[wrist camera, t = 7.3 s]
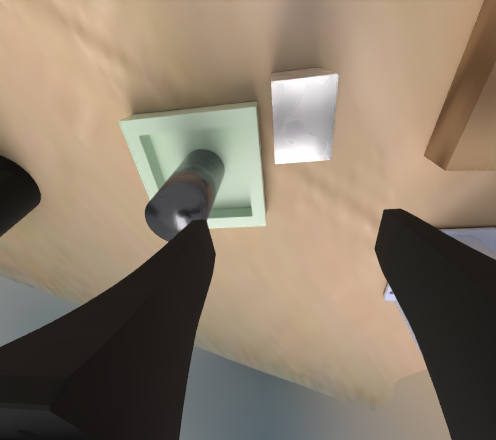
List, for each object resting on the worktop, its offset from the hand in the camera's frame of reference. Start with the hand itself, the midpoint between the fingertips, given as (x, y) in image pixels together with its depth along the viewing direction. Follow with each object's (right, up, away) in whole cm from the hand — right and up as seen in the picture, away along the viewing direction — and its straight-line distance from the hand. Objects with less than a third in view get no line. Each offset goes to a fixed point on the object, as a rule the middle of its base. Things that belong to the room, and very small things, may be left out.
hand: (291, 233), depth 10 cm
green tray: (-5, +5, +9) cm, 11 cm away
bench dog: (+1, +8, +6) cm, 10 cm away
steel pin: (-5, +5, +8) cm, 11 cm away
